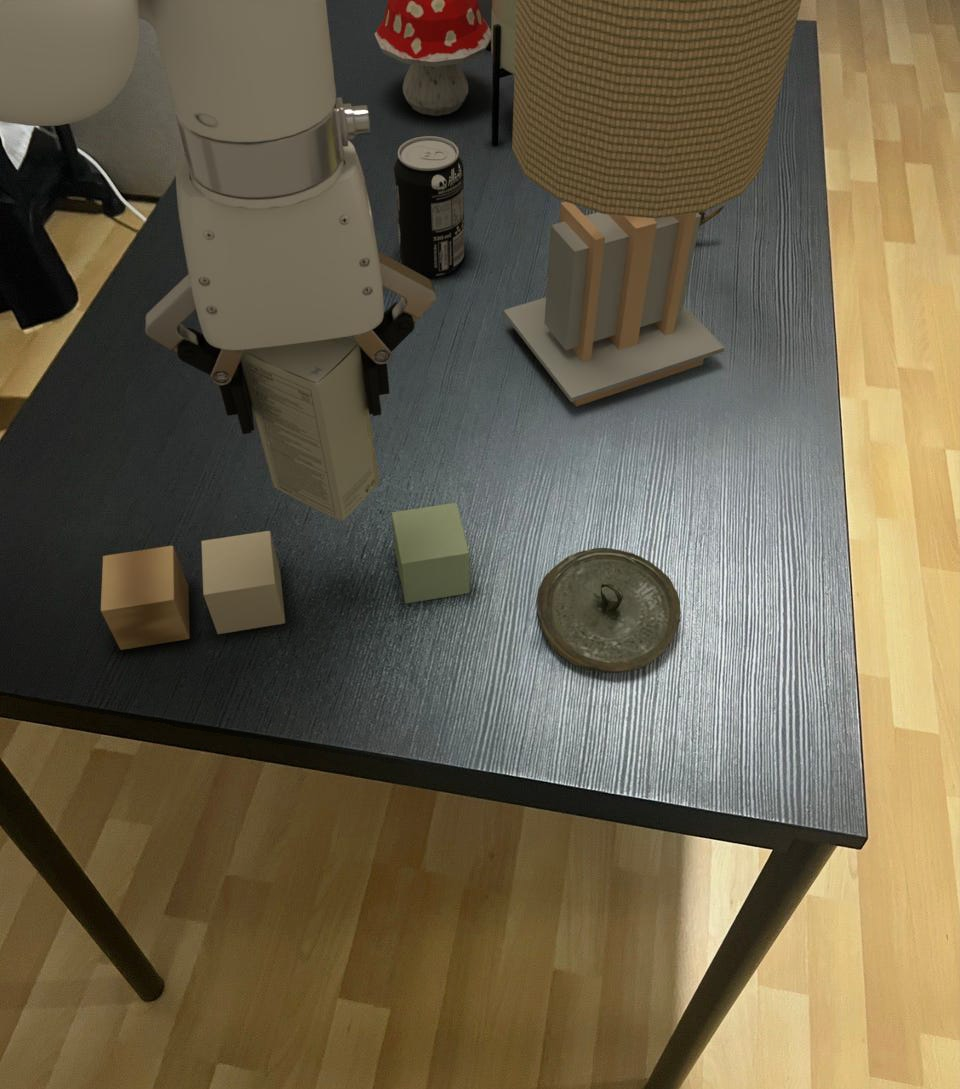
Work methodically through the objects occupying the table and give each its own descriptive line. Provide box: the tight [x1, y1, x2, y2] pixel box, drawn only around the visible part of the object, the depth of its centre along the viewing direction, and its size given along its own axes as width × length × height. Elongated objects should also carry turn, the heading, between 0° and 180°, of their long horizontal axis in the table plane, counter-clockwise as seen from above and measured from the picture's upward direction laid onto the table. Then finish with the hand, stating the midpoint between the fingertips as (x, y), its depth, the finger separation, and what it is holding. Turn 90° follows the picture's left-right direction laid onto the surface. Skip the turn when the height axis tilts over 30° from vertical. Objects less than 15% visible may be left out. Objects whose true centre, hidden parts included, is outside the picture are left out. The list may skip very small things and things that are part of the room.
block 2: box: [200, 530, 286, 635], centre depth 73 cm, size 5×5×5 cm
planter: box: [490, 0, 517, 147], centre depth 110 cm, size 15×16×23 cm
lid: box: [535, 547, 682, 674], centre depth 73 cm, size 11×10×5 cm
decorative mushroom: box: [374, 0, 491, 117], centre depth 117 cm, size 14×14×15 cm
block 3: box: [390, 502, 471, 604], centre depth 75 cm, size 5×5×5 cm
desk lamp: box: [502, 0, 802, 407], centre depth 80 cm, size 20×20×35 cm
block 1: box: [100, 545, 191, 651], centre depth 73 cm, size 5×5×5 cm
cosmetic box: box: [240, 336, 380, 522], centre depth 63 cm, size 6×4×12 cm
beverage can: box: [393, 135, 465, 277], centre depth 98 cm, size 7×7×12 cm
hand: (310, 407), depth 62 cm, fingers closed on cosmetic box, 7 cm apart
